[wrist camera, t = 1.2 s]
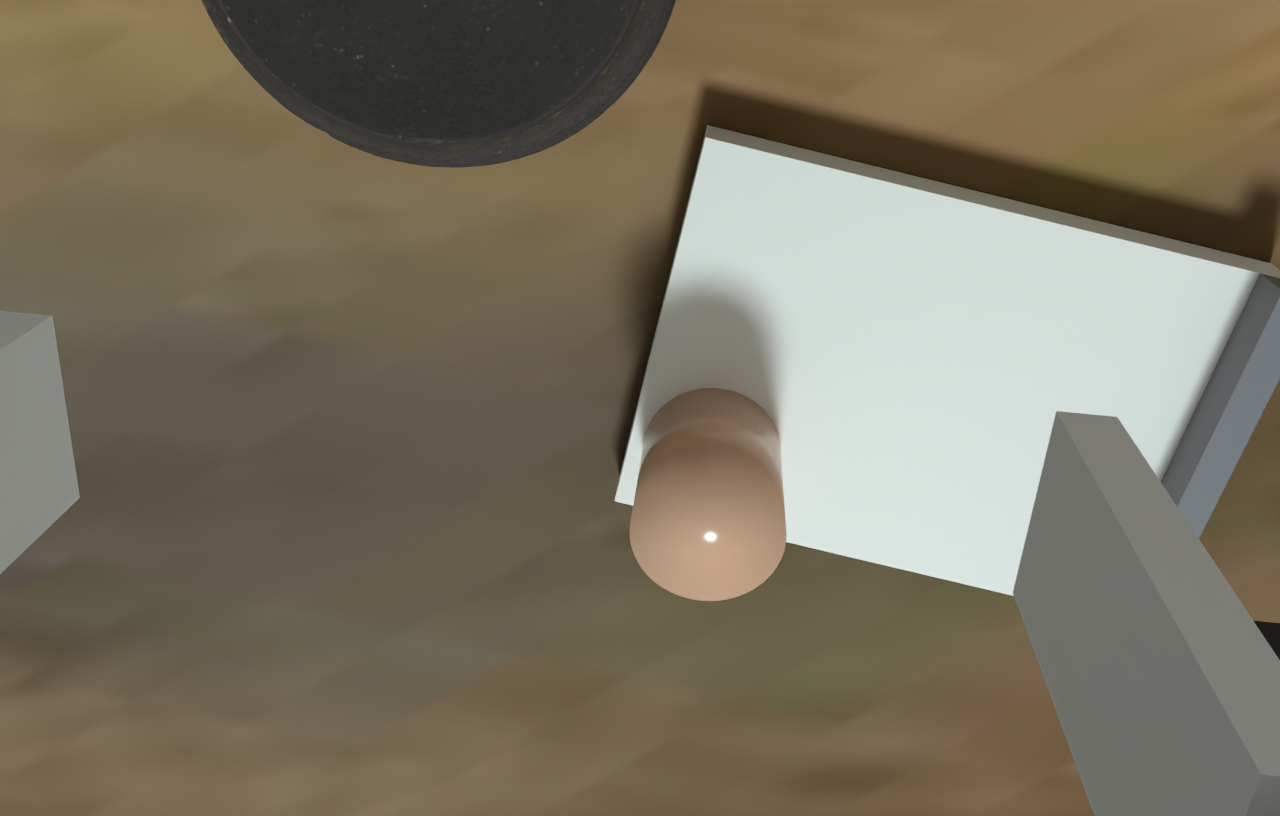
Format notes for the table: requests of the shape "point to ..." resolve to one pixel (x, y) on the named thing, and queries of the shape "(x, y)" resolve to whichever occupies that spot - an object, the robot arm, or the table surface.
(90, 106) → the table surface
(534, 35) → the container
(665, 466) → the peach rounded cylinder
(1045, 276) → the thin white panel
